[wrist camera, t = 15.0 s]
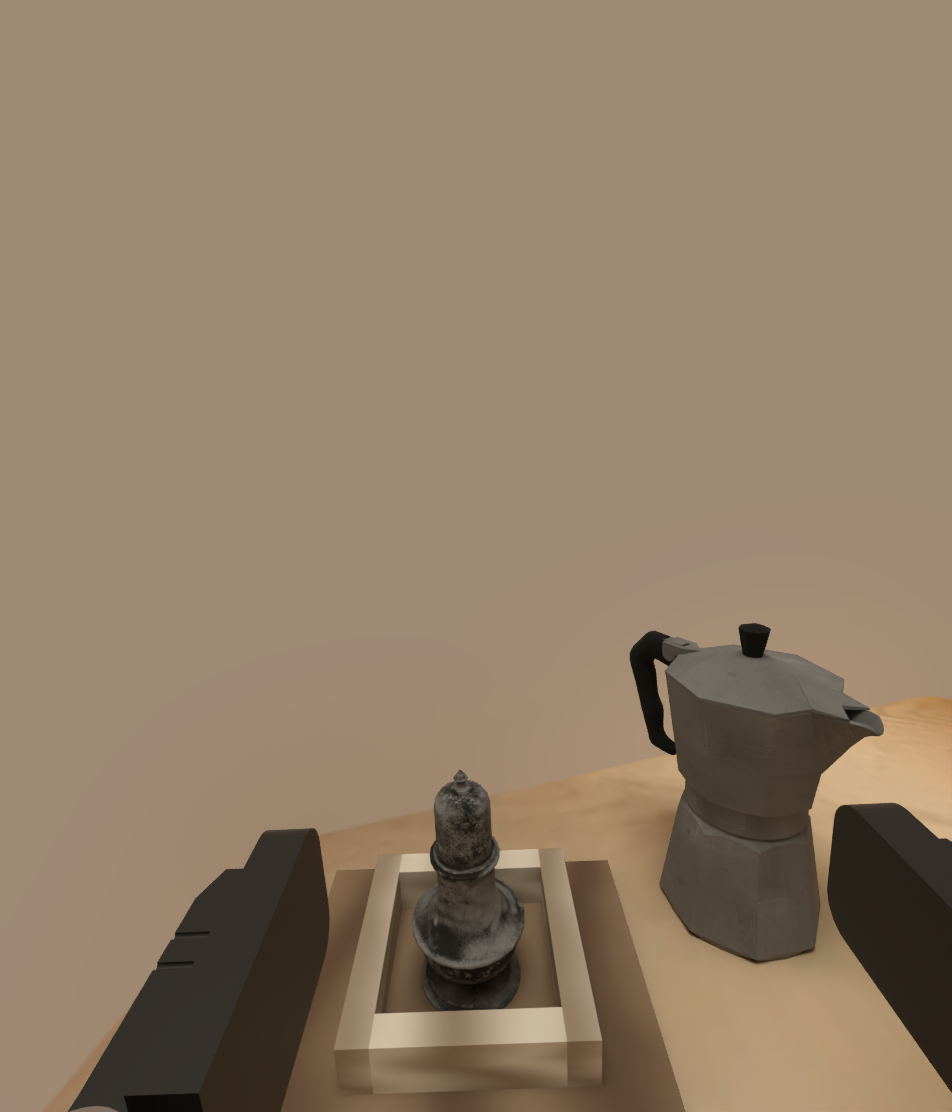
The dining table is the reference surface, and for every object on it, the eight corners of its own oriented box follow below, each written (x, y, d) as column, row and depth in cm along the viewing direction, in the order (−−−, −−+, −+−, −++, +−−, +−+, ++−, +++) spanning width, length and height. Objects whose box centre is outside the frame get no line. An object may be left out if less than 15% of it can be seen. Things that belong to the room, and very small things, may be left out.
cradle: (607, 873, 38) (607, 827, 37) (690, 1150, 23) (693, 1083, 22) (338, 883, 38) (333, 837, 37) (252, 1165, 23) (241, 1099, 23)
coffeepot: (893, 936, 32) (933, 638, 29) (803, 1031, 28) (837, 688, 24) (671, 798, 45) (678, 580, 41) (583, 847, 40) (582, 604, 37)
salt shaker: (518, 920, 33) (512, 734, 31) (534, 1022, 28) (529, 804, 25) (418, 929, 33) (403, 742, 30) (413, 1033, 27) (395, 814, 25)
